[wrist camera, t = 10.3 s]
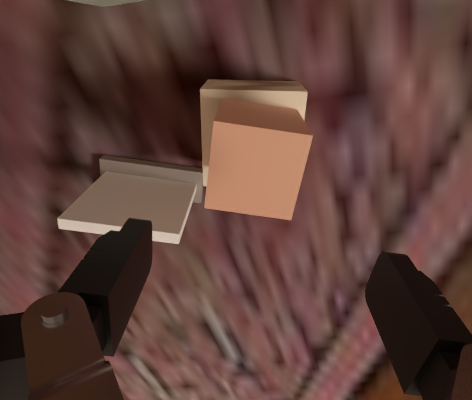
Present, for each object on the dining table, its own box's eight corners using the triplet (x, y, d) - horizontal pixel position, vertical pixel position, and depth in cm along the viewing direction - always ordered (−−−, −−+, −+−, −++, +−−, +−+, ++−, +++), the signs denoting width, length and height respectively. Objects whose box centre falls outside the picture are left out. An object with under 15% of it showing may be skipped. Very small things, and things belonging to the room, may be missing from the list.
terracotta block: (297, 109, 21) (312, 135, 16) (281, 177, 24) (291, 220, 18) (222, 98, 21) (213, 120, 16) (214, 168, 23) (204, 207, 18)
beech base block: (297, 81, 25) (307, 91, 21) (288, 164, 28) (296, 188, 24) (208, 79, 25) (200, 89, 21) (210, 162, 29) (203, 186, 24)
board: (204, 168, 29) (187, 221, 21) (202, 198, 30) (185, 257, 22) (103, 154, 28) (47, 202, 20) (105, 185, 30) (53, 241, 22)
